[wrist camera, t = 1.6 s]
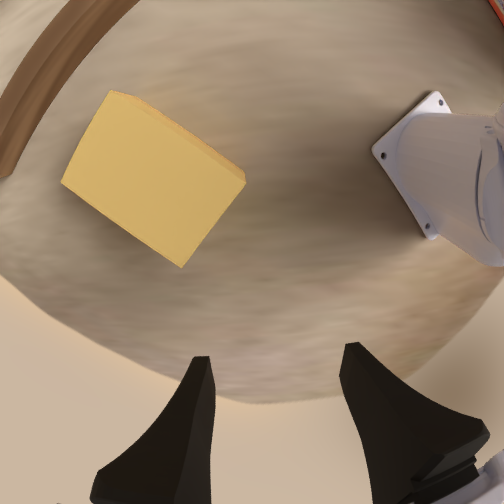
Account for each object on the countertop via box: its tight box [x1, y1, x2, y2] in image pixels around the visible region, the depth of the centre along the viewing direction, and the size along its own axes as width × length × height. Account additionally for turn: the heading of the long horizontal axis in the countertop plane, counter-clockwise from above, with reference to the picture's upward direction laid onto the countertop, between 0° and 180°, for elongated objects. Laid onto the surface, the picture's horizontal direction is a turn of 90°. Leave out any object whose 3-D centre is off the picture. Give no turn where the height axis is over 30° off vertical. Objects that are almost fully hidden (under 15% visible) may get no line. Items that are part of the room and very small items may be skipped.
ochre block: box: [61, 90, 246, 268], centre depth 16 cm, size 9×6×4 cm, turn 52°
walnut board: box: [0, 0, 139, 178], centre depth 12 cm, size 2×24×4 cm, turn 134°
